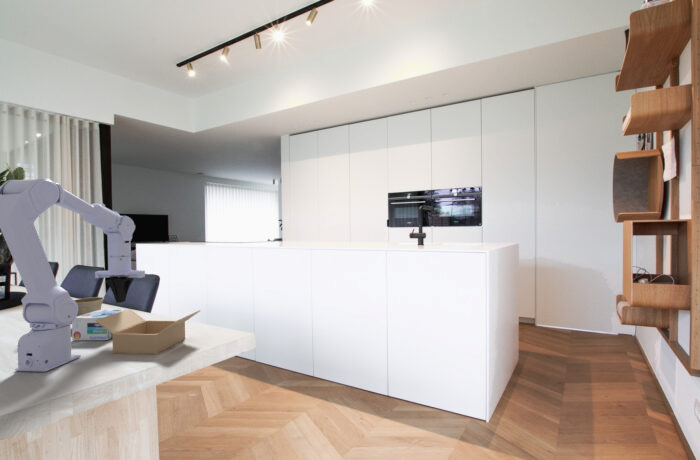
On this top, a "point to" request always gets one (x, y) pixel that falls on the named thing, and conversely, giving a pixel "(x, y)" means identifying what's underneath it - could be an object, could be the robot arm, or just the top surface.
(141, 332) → the carton
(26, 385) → the top surface
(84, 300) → the flower pot
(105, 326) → the flap
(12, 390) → the top surface
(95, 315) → the light bulb box
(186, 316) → the flap
